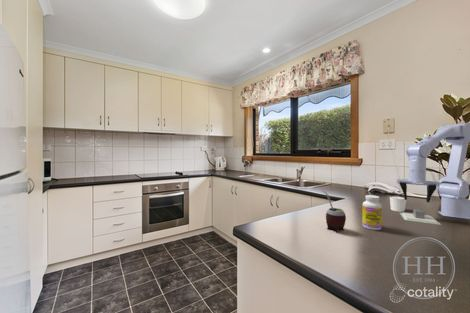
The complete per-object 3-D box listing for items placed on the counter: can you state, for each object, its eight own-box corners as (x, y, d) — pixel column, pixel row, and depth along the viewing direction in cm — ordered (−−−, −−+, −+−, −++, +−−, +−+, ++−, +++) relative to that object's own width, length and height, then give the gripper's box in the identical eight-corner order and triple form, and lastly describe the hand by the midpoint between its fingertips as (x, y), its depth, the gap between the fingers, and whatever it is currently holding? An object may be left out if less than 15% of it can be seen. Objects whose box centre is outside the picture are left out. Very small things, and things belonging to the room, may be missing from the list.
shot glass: (409, 213, 104) (409, 199, 104) (395, 212, 104) (396, 199, 104) (399, 209, 111) (399, 196, 111) (386, 209, 111) (386, 196, 111)
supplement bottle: (362, 228, 83) (363, 197, 82) (361, 223, 89) (361, 194, 88) (383, 231, 80) (383, 198, 79) (380, 226, 85) (380, 195, 85)
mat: (432, 217, 96) (432, 216, 96) (441, 225, 86) (441, 224, 86) (399, 213, 102) (399, 212, 102) (404, 220, 92) (404, 219, 92)
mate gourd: (348, 233, 78) (348, 194, 77) (325, 232, 79) (326, 193, 79) (342, 226, 85) (342, 190, 85) (321, 225, 87) (322, 189, 86)
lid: (429, 217, 96) (430, 209, 96) (437, 223, 87) (437, 215, 87) (402, 213, 101) (402, 206, 101) (406, 219, 92) (406, 211, 92)
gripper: (397, 170, 95) (396, 199, 95) (441, 172, 86) (440, 204, 86) (396, 169, 100) (396, 197, 101) (438, 171, 92) (437, 201, 92)
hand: (416, 200), depth 94 cm, fingers open, 7 cm apart
